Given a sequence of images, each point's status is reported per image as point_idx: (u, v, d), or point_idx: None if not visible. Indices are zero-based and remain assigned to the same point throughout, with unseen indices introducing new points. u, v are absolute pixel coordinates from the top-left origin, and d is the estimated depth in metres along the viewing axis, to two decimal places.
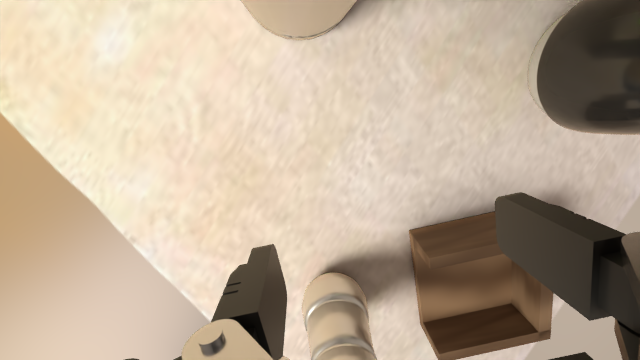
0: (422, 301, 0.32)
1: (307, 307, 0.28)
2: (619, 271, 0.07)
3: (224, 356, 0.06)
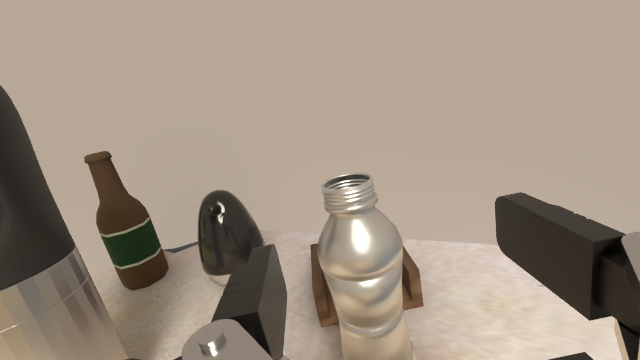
0: None
1: None
2: (619, 271, 0.07)
3: (224, 355, 0.06)
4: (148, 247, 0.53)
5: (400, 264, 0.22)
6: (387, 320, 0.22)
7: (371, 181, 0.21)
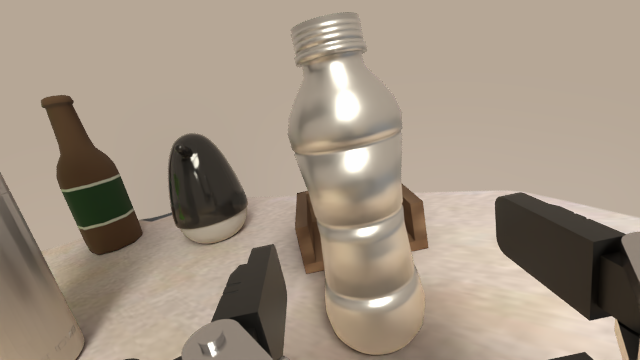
0: None
1: (346, 311, 0.18)
2: (619, 271, 0.07)
3: (225, 356, 0.06)
4: (116, 206, 0.47)
5: (399, 138, 0.16)
6: (382, 217, 0.16)
7: (357, 17, 0.15)
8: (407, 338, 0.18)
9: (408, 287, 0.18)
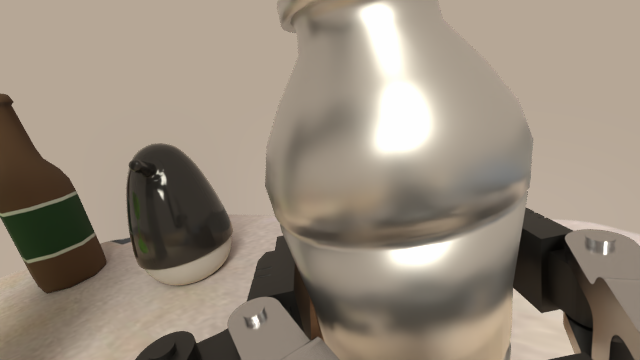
0: None
1: None
2: (563, 266, 0.07)
3: (265, 330, 0.06)
4: (69, 232, 0.38)
5: (526, 196, 0.07)
6: None
7: None
8: None
9: None
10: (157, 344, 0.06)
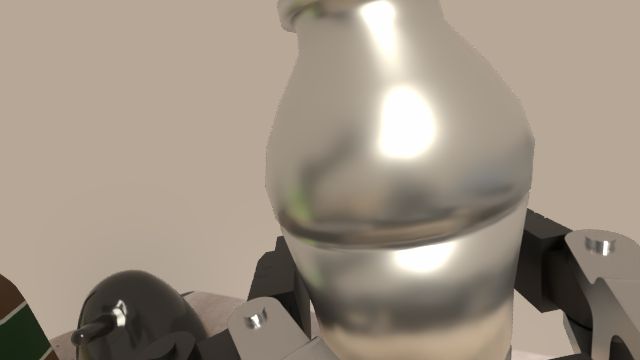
0: None
1: None
2: (563, 266, 0.07)
3: (265, 330, 0.06)
4: None
5: (527, 197, 0.07)
6: None
7: None
8: None
9: None
10: (157, 344, 0.06)
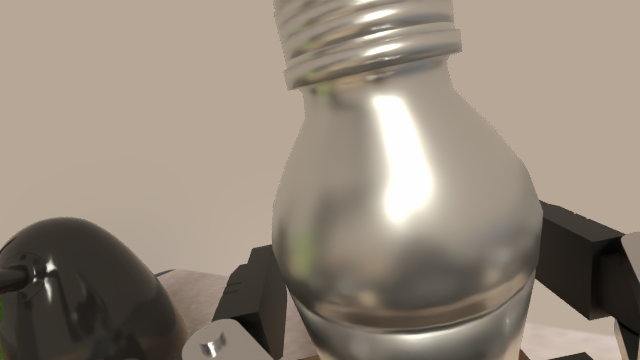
0: None
1: None
2: (618, 271, 0.07)
3: (225, 355, 0.06)
4: None
5: None
6: None
7: None
8: None
9: None
10: None
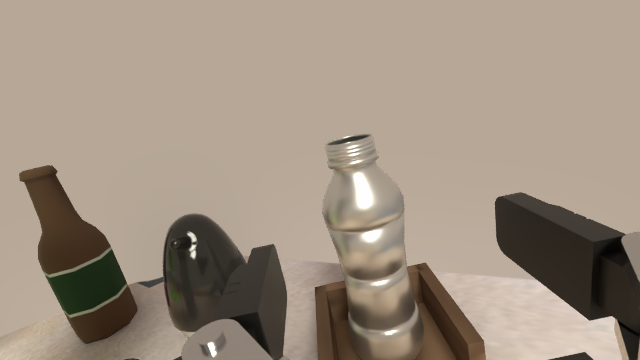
0: None
1: (366, 339, 0.25)
2: (619, 271, 0.07)
3: (225, 355, 0.06)
4: (106, 287, 0.41)
5: (402, 218, 0.23)
6: (391, 273, 0.23)
7: (371, 138, 0.22)
8: (410, 358, 0.25)
9: (410, 321, 0.25)
10: None
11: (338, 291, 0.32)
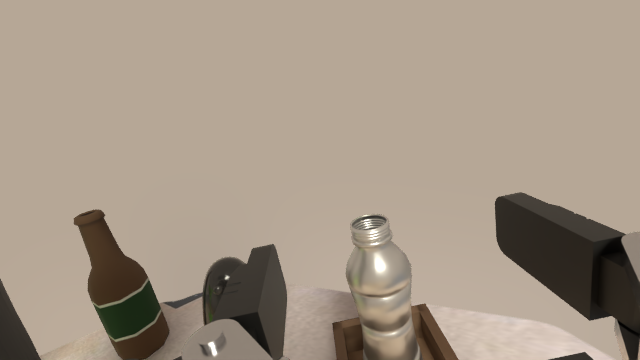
0: None
1: None
2: (619, 271, 0.07)
3: (225, 355, 0.06)
4: (146, 315, 0.47)
5: (409, 284, 0.29)
6: (400, 327, 0.29)
7: (387, 223, 0.28)
8: None
9: None
10: None
11: (352, 327, 0.38)
